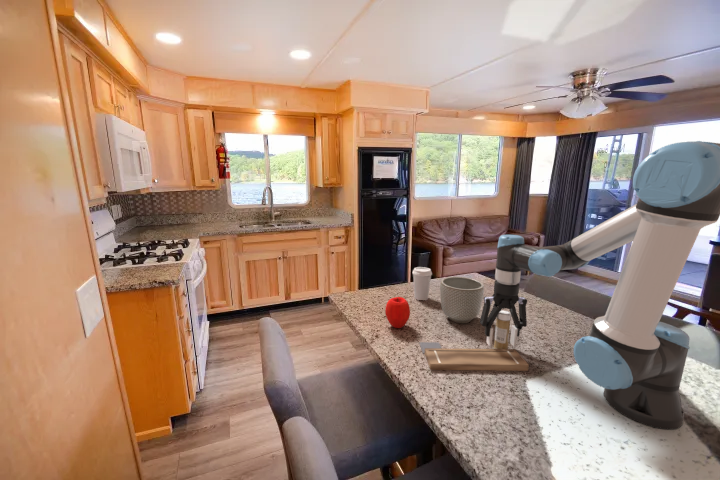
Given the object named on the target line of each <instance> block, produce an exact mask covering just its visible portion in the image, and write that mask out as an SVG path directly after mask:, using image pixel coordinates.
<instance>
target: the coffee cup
mask: <svg viewBox="0 0 720 480" xmlns="http://www.w3.org/2000/svg"><path fill="white" fill-rule="evenodd" d="M432 276H433V272H432V269H431V268H429V267H425V266H424V267H423V266H417V267H414V268H413V269H412V277H413V293H414V295H413V296H414V300H416V299H417V300H416V301H419V300H425V301H428V299H429V293H430V285H431V279H432Z"/></svg>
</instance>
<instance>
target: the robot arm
mask: <svg viewBox="0 0 720 480" xmlns="http://www.w3.org/2000/svg"><path fill="white" fill-rule="evenodd" d="M632 188H633V190H634V192H635V193H636V196H637V197H638V200H637V202H636V203H635V204H634V205H632V206H630V207H629V208H626V209H625V210H622V211H621V212H619V213H617V214H616V215H614V216H612V217H610V218H608V219H606V220H605V221H603V222H601V223H600V224H598V225H596V226H595V227H592V228H590V229H589V230H587V231H585V232H583V233H582V234H580V235H578V236H576V237H574V238H572V239H571V240H569V241H568V242H565V243H563V244H559V245H549V246H533V245H528V244H525V237H524V236H522V235H517V234H501V235H500V236H499V237H498V242H497V247H496V262H495V274H494V279H495V280H494V284H493V285H494V286H493V294H492V296H483V305H482V306H483V307H482V311H481V315H480V318H479V323H480V325H481V326H482V327H483V328H484V334H485V335H484V336H486V344H487V345H488V346H489V347H492V345H493V337H494V335H493V334H494V328H493V324H494V322H495V321H496V320H497V318H496V317H497V315H498V313H499V312H500V311H501V310H505V309H507V310H509V312H510V313H511V320H512V322H513V325H511V330H510V337H509V343H510V344H511V345H512V347H517V342H518V341H517V340H518V339H517V338H519V337H520V333H521V330H522V329H523V327H527V324H528V322H527V305H528V300H527V298H525V297H524V296H519V294H520V282H521V273H522V270H524V271H527V272H530V273H533V274H535V275H537V276H543V277H548V278H550V277H553V276H556V274H558V273H559V272H560V271H564V270H565V271H566V270H577V269H579V268H584V267H585V266H587V265H588V264H589V263H590V261H592V260H594V259H597V258H600V257H601V256H604V255H605V254H608V253H610V252H612V251H614V250H616V249H618V248H620V247H623V246H625V245H628V244H630V243H631V242H632V244H631V246H630V248H629V251H628V254H627V256H626V259H625V262H624V264H623V267H622V270H621V272H620V275H619V278H618V280H617V282H616V286H615V289H613V290H614V291H613V293H612V295H611V299H610V301H609V304H608V307H607V309H606V311H605V314H604V315H602V316H598V317H596V318H595V319H594V321H593V324H592V326H591V329H590V331H589V334H588V335H587V336H582V337H581V338H579V339H578V340H576V342H575V344H574V346H573V357H574V361H575V362H576V364H577V365H578V369H580V371H581V372H582V373H583V375H584V376H585V377H586V378H587V379H588V380H589V381H590V382H593V384H595V385H597V386H599V387H602V388H604V389H603V397H604V399H605V401H606V403H608V404H609V405H610V407H612V408H613V409H614V410H616V411H617V412H618V413H620V414H621V415H623V416H625V417H626V418H629V419H631V420H633V421H634V422H637V423H640V424H642V425H645V426H649V427H652V428H655V429H656V428H657V429H662V430H676V429H680V428H681V427H682V426H683V424H684V420H685V411H684V409H683V407H682V405H683V404H682V399H681V396H680V395H681V394H680V386H681V382H682V378H683V374H684V369H685V364H686V362H687V361H686V360H687V357H688V353H689V350H690V340H691V339H690V336H689V335H688V333H687V332H686V331H684V330H683V329H681V328H678V327H676V326H675V325H671V324H669V323H666V322H663V321H660V320H661V318H662V316H663V314H664V312H665V310H666V308H667V305H668V303H669V300H670V299H671V296H672V294H673V291H674V289H675V287H676V284H677V282H678V281H679V278H680V276H681V273H682V271H683V269H684V267H685V265H686V262H687V261H688V258H689V256H690V253H691V251H692V249H693V247H694V244H695V242H696V241H697V238H698V236H699V233H700V231H701V229H703V228H704V227H706V226H710V225H712V224H715V223H717V222H718V220H719V218H720V143H719V142H710V141H702V140H697V141H683V142H682V141H681V142H675V143H670V144H668V145H664V146H662V147H660V148H658V149H656V150H654V151H653V152H651V153H650V154H648V155H647V156H646V157H645V158H644V159H642V161H641V162H640V163H639V164H638V166H637V168H636V169H635V171H634V174H633V177H632ZM493 302H494V303H493ZM517 303H518V313H517V308H516V306H515V305H516V304H517ZM492 304H493V305H492ZM491 305H492V309H491ZM490 310H491V311H490Z"/></svg>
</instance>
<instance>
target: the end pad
mask: <svg viewBox="0 0 720 480" xmlns="http://www.w3.org/2000/svg"><path fill="white" fill-rule="evenodd" d="M418 344H419V346H420V349H421V351H422V354H424V355H425V348H442V346H441V344H440V342H438V341H437V342H433V341H431V342H430V341H429V342H427V341H425V342H424V341H421V342H418Z"/></svg>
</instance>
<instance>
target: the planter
mask: <svg viewBox="0 0 720 480" xmlns="http://www.w3.org/2000/svg"><path fill="white" fill-rule="evenodd" d="M439 292H440V293H439V294H440V295H439V297H440V306H441V310H442V312H443V313H444V315H446V316H447V317H448V319H449V320H450V321H452V322H453V323H457V324H467V323H469V322H471V320H474V319H476V318H477V316H479V315H480V312H481V308H482V306H483V305H482V303H483V301H484V293H485V285H484V283H483V282H481V281H480V280H477V279H474V278H470V277H466V276H449V277H444V278H442V279H440V284H439Z"/></svg>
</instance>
